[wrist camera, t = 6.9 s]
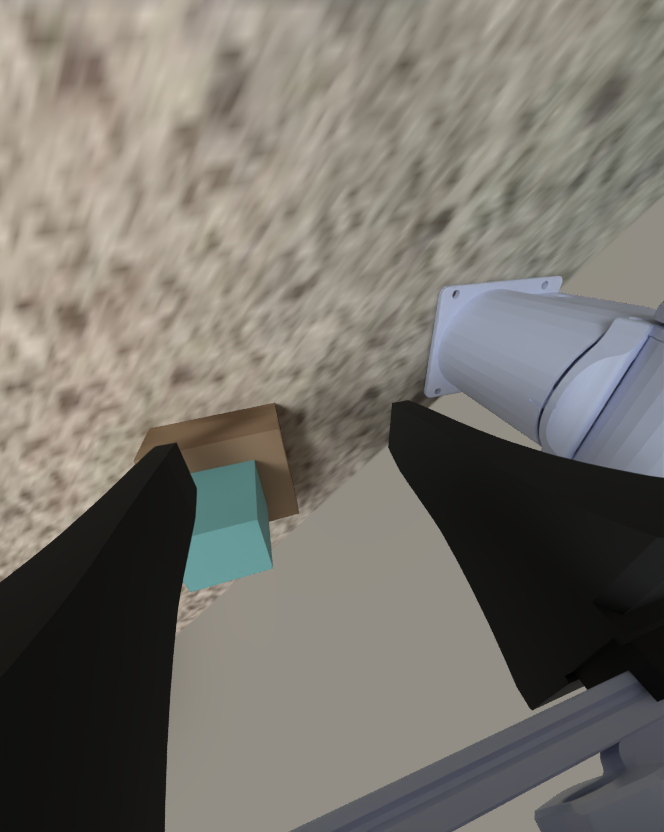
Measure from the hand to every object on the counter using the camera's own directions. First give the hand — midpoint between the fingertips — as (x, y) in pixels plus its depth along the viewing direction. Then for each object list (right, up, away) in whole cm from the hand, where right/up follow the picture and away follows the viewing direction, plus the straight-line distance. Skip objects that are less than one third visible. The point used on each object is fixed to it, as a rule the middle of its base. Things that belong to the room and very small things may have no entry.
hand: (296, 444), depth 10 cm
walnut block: (-6, -2, +11) cm, 13 cm away
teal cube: (-6, -4, +8) cm, 11 cm away
